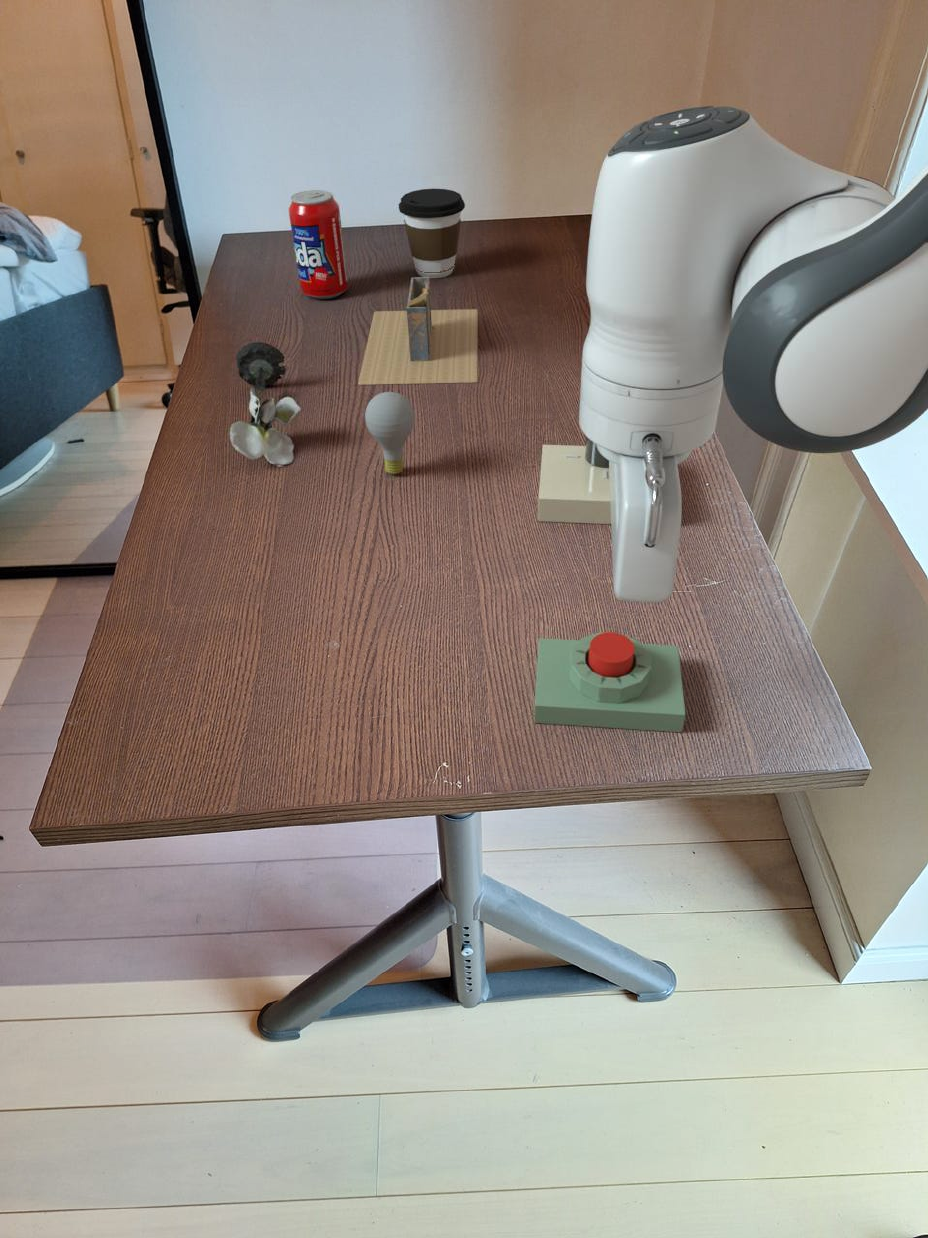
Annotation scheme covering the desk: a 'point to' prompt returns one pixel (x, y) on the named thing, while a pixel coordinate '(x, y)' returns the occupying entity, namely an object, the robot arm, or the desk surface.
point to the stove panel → (572, 487)
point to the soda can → (318, 244)
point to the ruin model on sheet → (421, 343)
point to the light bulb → (390, 426)
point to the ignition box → (609, 688)
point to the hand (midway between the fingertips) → (629, 568)
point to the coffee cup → (432, 229)
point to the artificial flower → (264, 407)
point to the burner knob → (595, 455)
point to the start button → (611, 654)
